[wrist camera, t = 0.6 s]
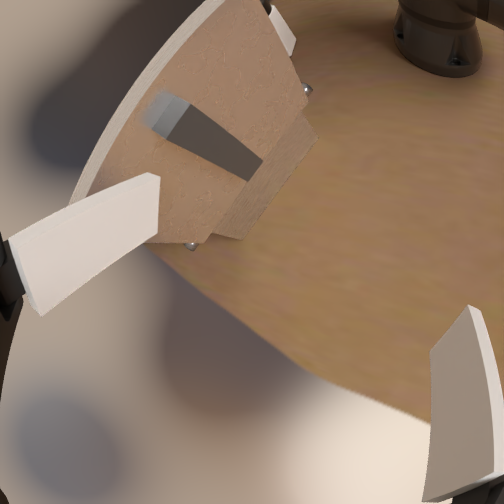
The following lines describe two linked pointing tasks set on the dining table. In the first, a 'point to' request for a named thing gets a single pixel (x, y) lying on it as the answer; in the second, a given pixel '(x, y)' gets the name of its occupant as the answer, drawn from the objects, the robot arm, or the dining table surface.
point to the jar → (280, 26)
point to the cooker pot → (267, 179)
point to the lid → (200, 118)
